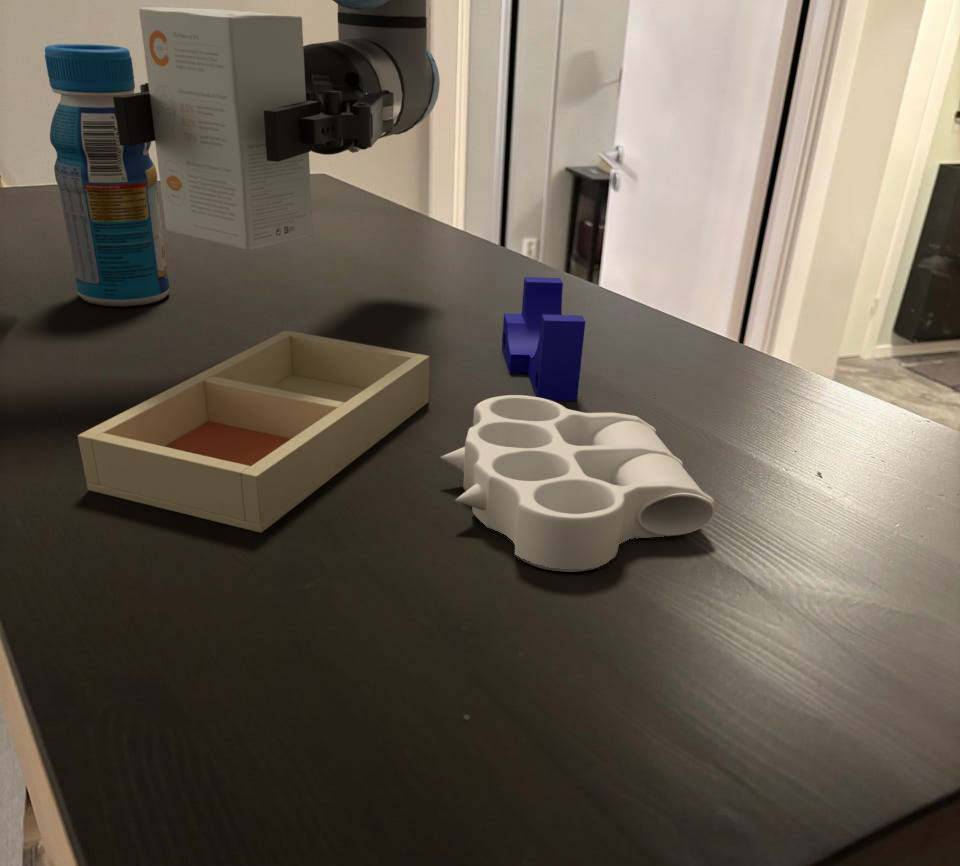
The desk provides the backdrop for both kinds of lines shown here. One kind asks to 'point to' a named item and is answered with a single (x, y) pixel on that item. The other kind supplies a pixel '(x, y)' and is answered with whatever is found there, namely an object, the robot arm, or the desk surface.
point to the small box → (226, 123)
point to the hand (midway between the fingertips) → (195, 128)
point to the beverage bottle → (104, 180)
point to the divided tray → (256, 429)
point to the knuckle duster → (573, 481)
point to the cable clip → (545, 341)
